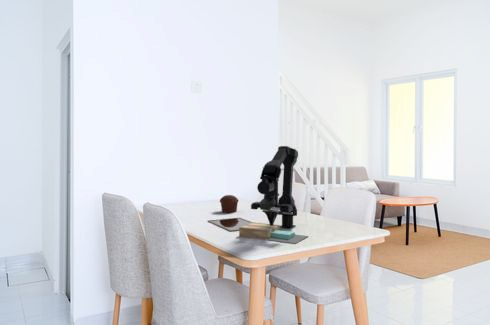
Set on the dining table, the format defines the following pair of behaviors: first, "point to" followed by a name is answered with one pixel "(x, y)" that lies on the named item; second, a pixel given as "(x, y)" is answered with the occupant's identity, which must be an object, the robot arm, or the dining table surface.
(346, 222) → the dining table surface
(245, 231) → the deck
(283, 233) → the teal rectangular block
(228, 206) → the muffin
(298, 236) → the mat
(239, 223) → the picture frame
